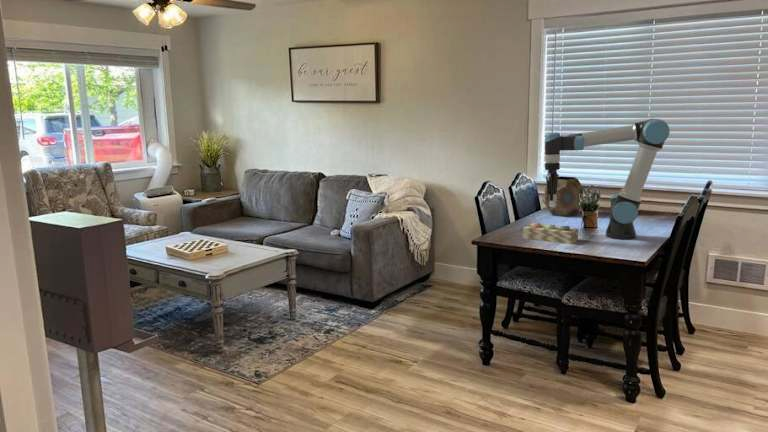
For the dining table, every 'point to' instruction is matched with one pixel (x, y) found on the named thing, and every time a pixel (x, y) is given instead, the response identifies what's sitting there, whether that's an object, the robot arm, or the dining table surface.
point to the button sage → (550, 226)
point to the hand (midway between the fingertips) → (552, 206)
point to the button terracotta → (536, 225)
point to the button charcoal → (565, 228)
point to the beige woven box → (550, 234)
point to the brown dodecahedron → (565, 197)
